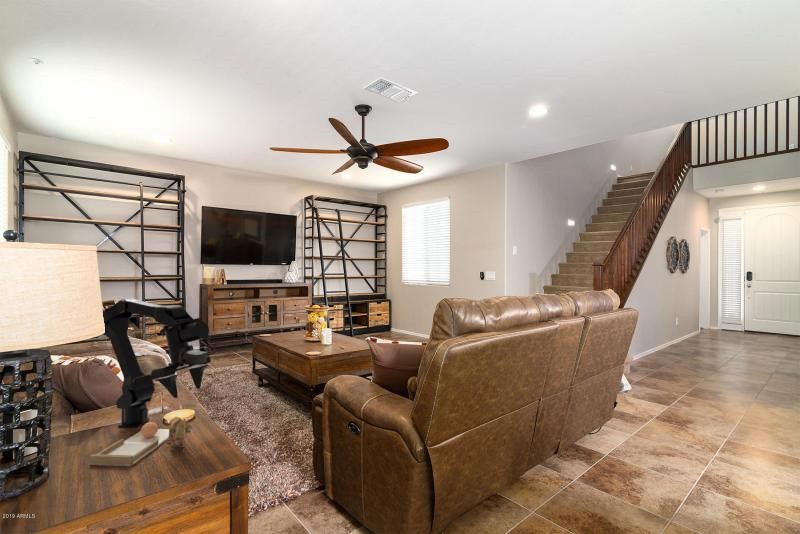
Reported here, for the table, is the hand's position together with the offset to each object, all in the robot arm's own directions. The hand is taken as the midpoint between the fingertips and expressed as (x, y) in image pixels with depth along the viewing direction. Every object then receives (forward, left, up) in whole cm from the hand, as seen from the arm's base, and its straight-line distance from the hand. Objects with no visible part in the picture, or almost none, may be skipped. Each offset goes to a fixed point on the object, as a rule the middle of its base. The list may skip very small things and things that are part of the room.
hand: (187, 393), depth 127 cm
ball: (-8, -6, -10) cm, 14 cm away
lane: (-8, -11, -12) cm, 18 cm away
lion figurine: (+2, -9, -12) cm, 15 cm away
